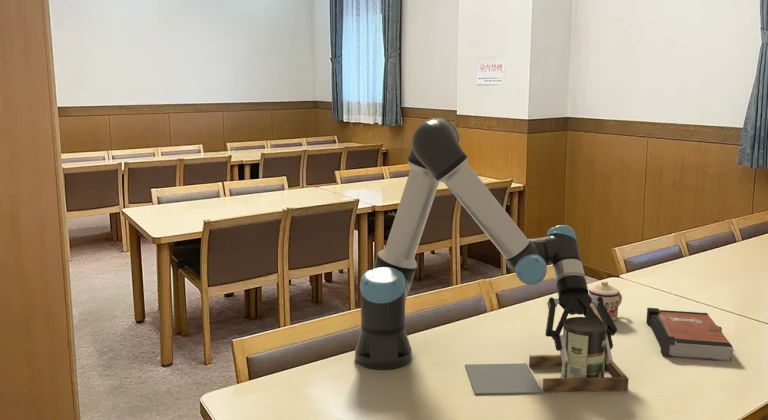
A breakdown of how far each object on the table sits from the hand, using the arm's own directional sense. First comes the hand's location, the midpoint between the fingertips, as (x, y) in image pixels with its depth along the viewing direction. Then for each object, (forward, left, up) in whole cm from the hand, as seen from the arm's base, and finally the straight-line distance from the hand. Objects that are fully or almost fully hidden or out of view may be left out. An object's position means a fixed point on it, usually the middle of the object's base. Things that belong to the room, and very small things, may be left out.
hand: (587, 362), depth 157 cm
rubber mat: (-20, +3, -5) cm, 21 cm away
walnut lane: (-2, +3, -5) cm, 7 cm away
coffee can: (0, +3, -6) cm, 6 cm away
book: (+37, +25, -6) cm, 45 cm away
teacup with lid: (+21, +45, -6) cm, 50 cm away
